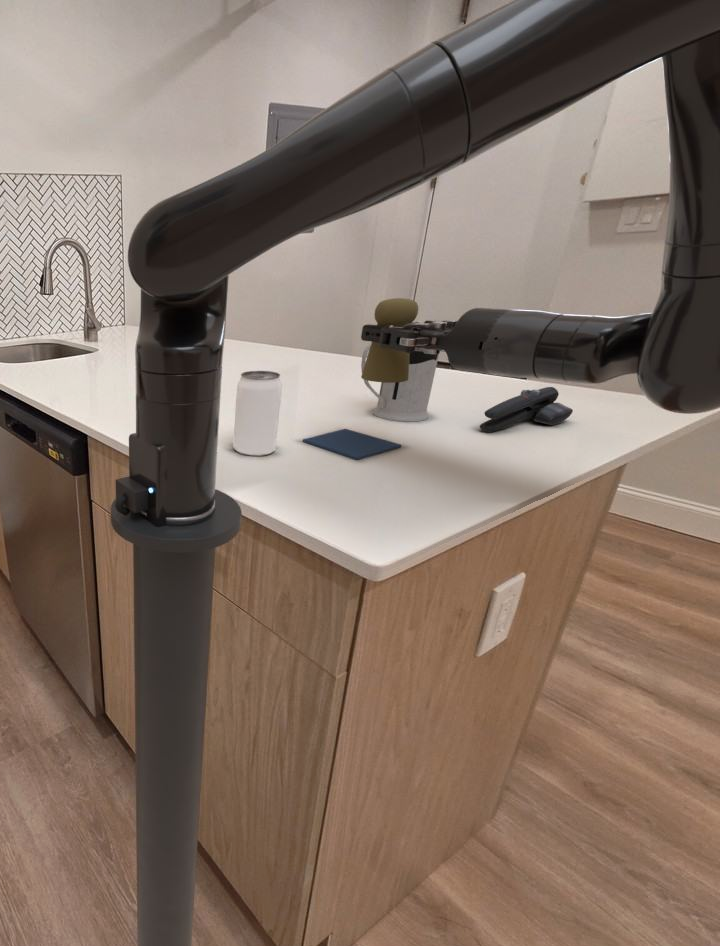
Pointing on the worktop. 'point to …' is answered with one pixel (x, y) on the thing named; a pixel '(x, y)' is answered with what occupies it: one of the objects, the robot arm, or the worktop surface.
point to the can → (257, 413)
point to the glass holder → (406, 389)
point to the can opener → (527, 409)
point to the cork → (384, 360)
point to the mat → (351, 443)
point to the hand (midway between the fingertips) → (374, 330)
